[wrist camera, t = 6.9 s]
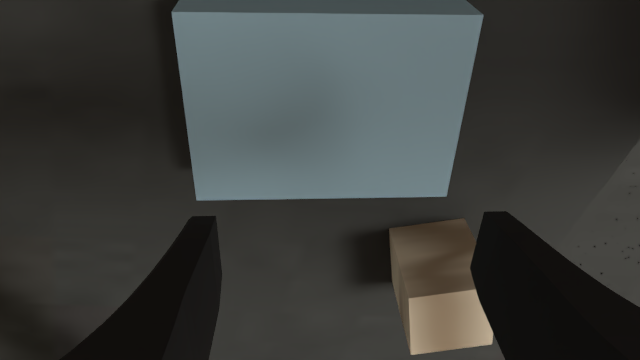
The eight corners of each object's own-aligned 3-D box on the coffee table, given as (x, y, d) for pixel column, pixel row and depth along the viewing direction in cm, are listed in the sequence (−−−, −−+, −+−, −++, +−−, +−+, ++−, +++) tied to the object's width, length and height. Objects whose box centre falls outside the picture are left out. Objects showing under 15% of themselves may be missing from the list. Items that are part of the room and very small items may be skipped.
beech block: (464, 217, 27) (497, 286, 22) (461, 272, 29) (491, 344, 25) (388, 227, 27) (408, 298, 22) (392, 281, 29) (410, 354, 25)
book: (460, -5, 20) (483, 15, 18) (430, 163, 25) (446, 196, 22) (184, -9, 20) (171, 11, 17) (204, 165, 24) (196, 200, 22)
